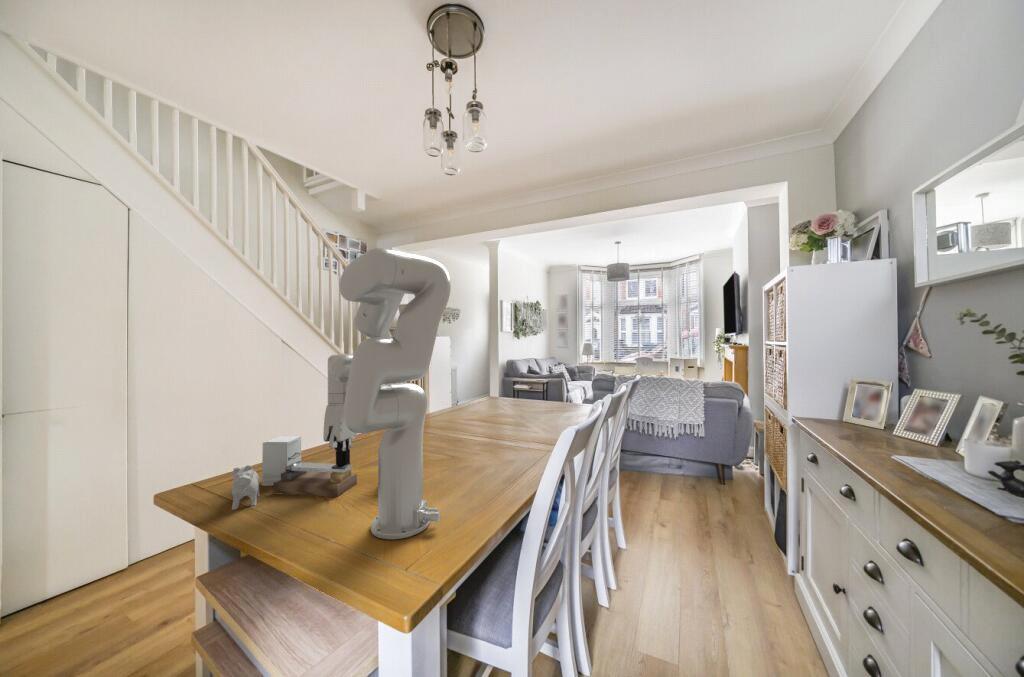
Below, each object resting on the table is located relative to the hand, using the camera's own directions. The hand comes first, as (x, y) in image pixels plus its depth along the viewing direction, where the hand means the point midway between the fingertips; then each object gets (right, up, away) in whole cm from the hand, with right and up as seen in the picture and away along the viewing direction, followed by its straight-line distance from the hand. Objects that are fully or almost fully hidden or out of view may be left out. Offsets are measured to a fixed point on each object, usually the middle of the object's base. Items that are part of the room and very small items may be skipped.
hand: (342, 464), depth 100 cm
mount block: (-8, -7, +1) cm, 11 cm away
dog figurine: (-21, -7, -8) cm, 24 cm away
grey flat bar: (-7, -2, +1) cm, 8 cm away
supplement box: (-21, -8, +7) cm, 24 cm away
